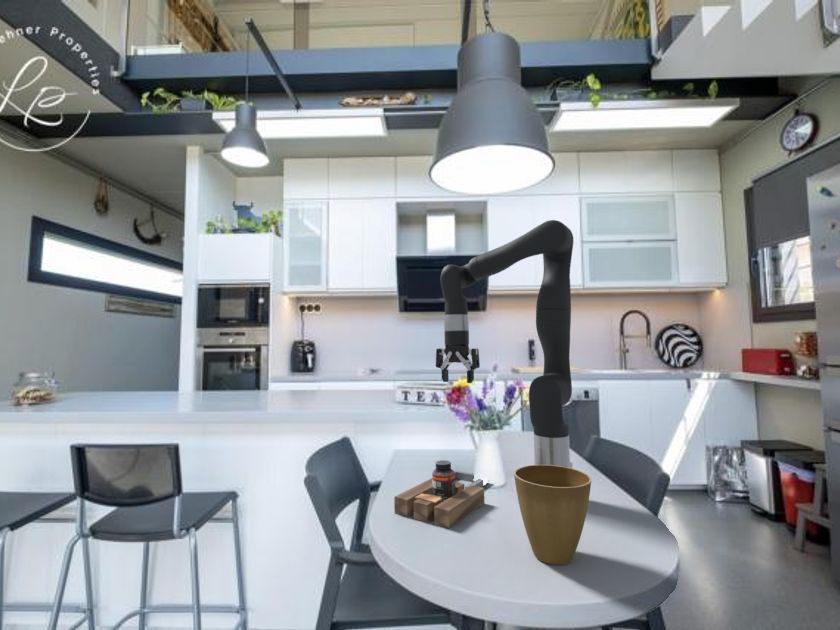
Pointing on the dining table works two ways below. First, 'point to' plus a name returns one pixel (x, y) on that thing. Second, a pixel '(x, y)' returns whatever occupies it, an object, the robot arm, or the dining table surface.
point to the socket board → (439, 503)
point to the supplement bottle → (443, 480)
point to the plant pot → (553, 509)
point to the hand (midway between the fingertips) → (457, 382)
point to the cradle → (468, 478)
